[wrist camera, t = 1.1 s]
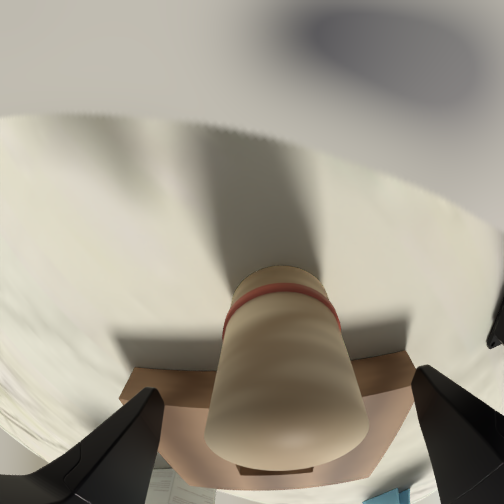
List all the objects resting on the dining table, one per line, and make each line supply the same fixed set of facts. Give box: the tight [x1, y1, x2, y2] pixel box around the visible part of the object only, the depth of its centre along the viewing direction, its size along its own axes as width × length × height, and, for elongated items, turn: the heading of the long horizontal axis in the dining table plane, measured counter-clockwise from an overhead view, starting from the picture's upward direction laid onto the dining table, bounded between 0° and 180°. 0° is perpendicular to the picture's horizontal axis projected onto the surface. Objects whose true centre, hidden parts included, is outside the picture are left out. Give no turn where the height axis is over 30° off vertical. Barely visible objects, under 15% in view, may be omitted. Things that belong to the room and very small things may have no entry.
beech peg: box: [204, 266, 369, 471], centre depth 10 cm, size 5×5×8 cm
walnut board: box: [119, 350, 416, 490], centre depth 17 cm, size 18×16×3 cm
